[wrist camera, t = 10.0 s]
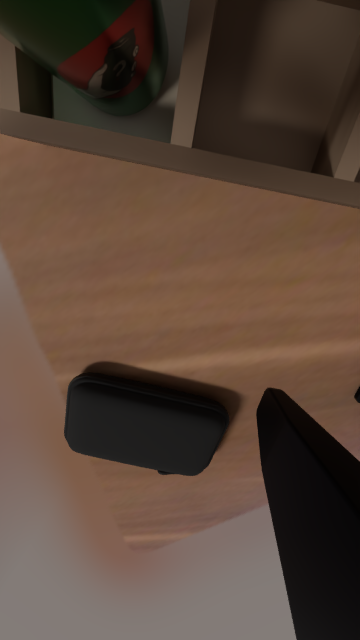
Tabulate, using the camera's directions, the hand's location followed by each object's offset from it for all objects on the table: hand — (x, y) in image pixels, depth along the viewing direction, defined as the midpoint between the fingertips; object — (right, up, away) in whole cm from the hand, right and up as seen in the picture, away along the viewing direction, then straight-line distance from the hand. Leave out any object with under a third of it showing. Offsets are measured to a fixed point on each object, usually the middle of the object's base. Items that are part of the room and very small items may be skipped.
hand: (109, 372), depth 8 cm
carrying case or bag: (-1, -8, +20) cm, 21 cm away
